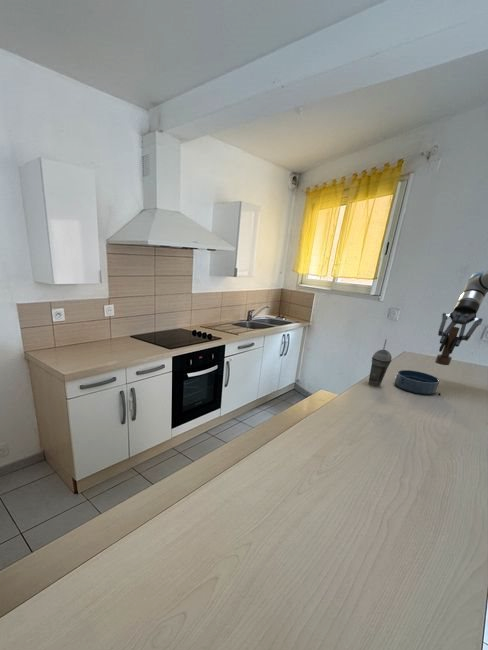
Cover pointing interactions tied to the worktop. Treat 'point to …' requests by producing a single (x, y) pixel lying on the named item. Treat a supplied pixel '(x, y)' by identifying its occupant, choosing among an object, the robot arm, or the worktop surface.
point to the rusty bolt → (447, 347)
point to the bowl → (416, 382)
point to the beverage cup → (379, 366)
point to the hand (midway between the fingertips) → (445, 350)
